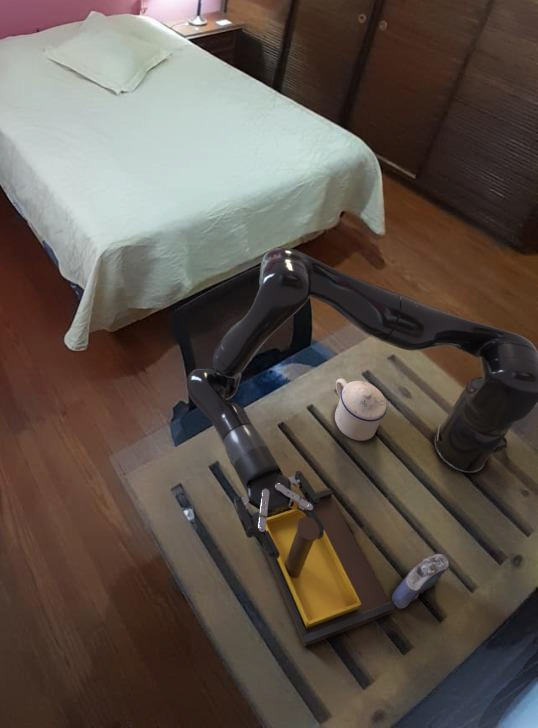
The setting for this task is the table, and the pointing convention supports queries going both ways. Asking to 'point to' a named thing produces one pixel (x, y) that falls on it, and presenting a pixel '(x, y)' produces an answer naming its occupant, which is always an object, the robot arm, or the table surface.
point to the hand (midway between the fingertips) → (299, 546)
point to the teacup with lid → (359, 409)
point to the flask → (420, 579)
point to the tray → (311, 569)
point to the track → (354, 568)
